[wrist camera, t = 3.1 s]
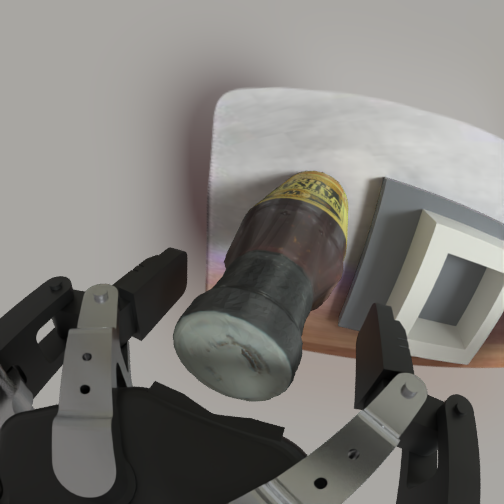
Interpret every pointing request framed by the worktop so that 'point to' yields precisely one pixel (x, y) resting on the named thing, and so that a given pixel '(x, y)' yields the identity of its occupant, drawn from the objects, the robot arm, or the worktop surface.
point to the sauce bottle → (267, 290)
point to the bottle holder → (430, 272)
